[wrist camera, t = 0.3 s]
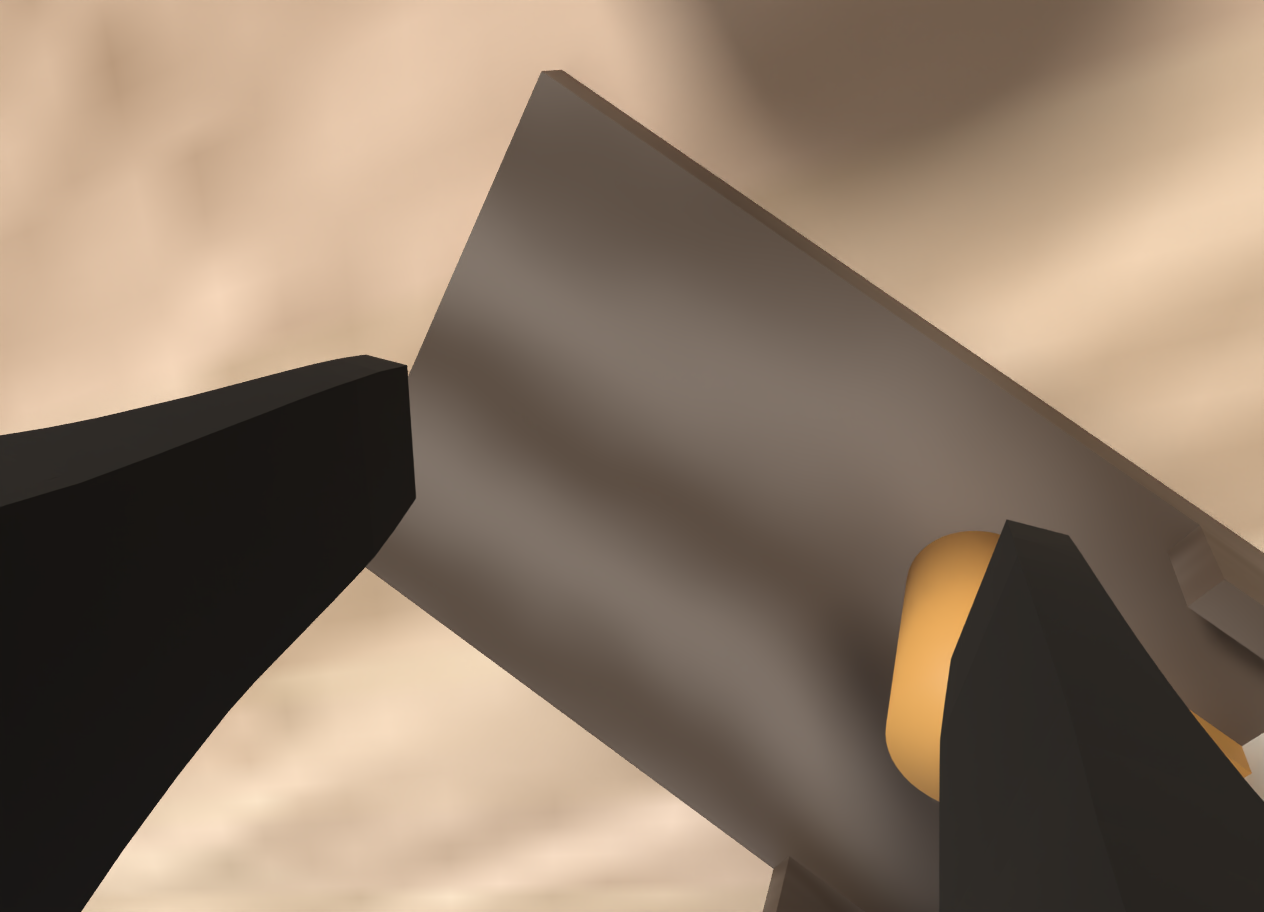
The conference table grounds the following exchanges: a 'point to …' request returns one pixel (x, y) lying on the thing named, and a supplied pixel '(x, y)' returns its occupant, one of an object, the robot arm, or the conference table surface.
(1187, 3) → the conference table surface
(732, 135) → the conference table surface
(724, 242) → the lane rack
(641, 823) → the conference table surface
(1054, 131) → the conference table surface
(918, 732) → the orange mallet
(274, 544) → the robot arm
